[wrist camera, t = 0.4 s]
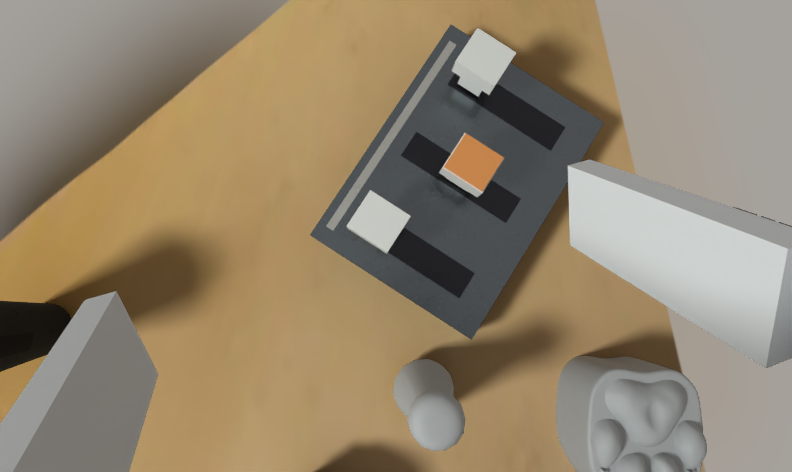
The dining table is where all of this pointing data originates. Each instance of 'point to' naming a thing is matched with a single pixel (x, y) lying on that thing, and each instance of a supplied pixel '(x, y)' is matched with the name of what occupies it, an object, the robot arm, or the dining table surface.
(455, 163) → the block
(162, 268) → the dining table surface
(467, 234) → the panel
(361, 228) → the breaker
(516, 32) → the dining table surface
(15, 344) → the drinking cup
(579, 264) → the dining table surface
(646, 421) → the lumpy-topped squat cylinder
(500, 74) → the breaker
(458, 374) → the dining table surface
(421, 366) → the salt shaker
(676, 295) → the robot arm
